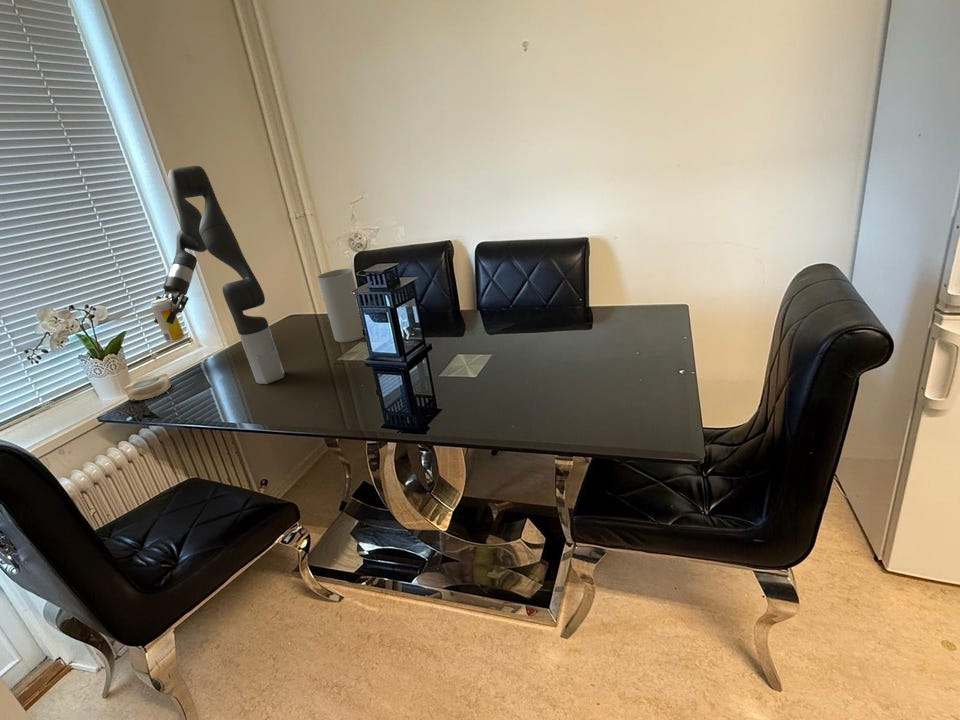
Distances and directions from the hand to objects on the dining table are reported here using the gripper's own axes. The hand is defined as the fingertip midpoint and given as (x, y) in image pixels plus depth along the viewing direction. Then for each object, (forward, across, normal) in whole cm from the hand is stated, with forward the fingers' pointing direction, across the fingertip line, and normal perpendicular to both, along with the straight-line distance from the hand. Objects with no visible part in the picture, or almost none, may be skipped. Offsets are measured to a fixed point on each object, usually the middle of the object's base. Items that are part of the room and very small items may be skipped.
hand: (163, 322), depth 182 cm
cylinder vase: (-10, +50, +39) cm, 64 cm away
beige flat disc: (+24, +1, +4) cm, 25 cm away
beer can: (+4, 0, +6) cm, 8 cm away
